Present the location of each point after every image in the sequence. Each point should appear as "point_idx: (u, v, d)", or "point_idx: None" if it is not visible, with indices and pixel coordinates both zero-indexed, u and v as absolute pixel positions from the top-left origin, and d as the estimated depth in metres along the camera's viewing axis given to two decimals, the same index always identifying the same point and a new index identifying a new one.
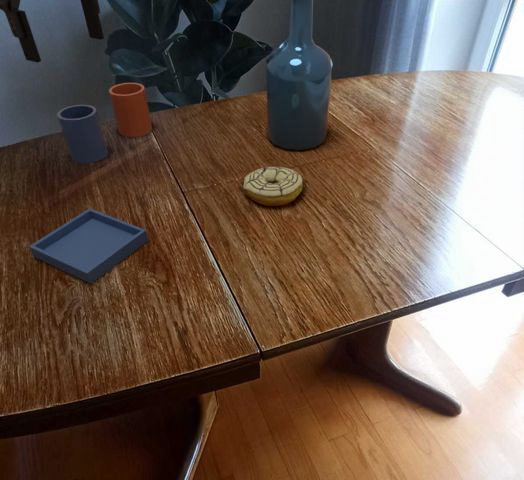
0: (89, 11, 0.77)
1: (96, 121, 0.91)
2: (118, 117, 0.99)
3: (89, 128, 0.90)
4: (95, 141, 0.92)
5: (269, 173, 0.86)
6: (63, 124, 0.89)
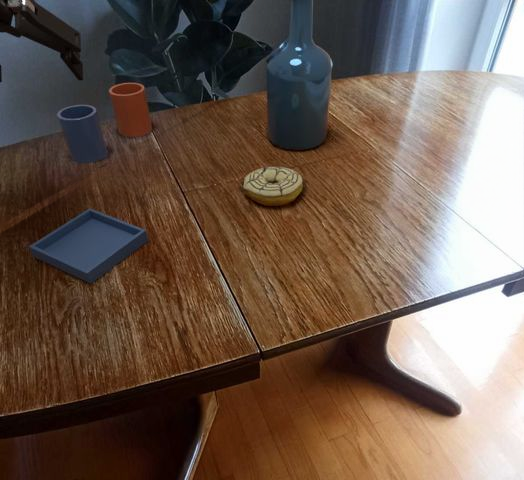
0: None
1: (96, 121, 0.91)
2: (118, 117, 0.99)
3: (89, 128, 0.90)
4: (95, 141, 0.92)
5: (269, 173, 0.86)
6: (63, 124, 0.89)
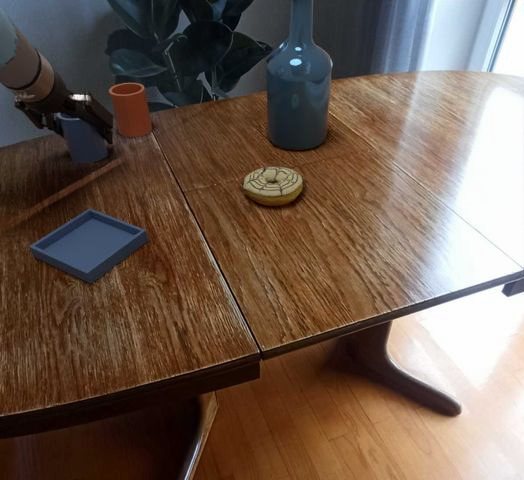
0: None
1: None
2: (118, 117, 0.99)
3: (89, 128, 0.90)
4: (95, 141, 0.92)
5: (269, 173, 0.86)
6: (63, 124, 0.89)
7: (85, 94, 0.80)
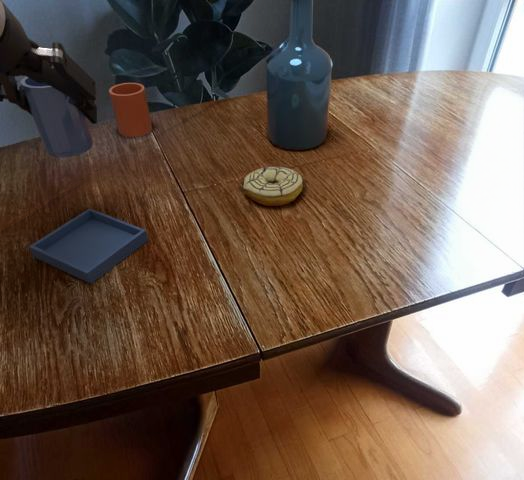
0: None
1: None
2: (118, 117, 0.99)
3: (64, 100, 0.67)
4: (73, 117, 0.69)
5: (269, 173, 0.86)
6: (29, 94, 0.66)
7: (54, 47, 0.57)
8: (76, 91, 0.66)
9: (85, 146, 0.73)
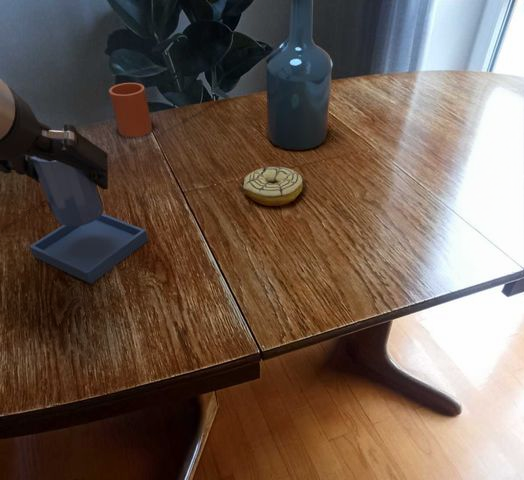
0: None
1: None
2: (118, 117, 0.99)
3: (74, 172, 0.64)
4: (83, 188, 0.66)
5: (269, 173, 0.86)
6: (37, 167, 0.63)
7: (66, 129, 0.54)
8: (87, 164, 0.63)
9: (95, 214, 0.70)
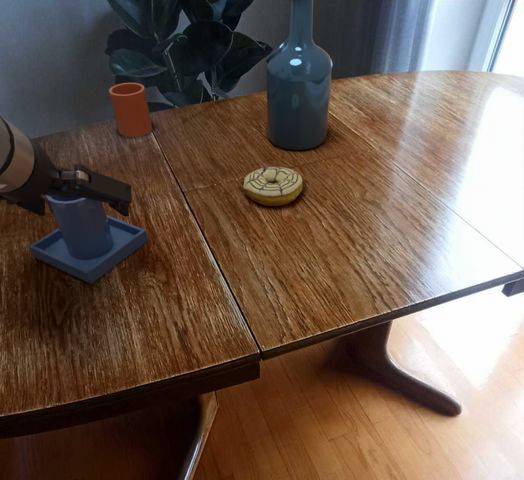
0: None
1: (97, 201, 0.69)
2: (118, 117, 0.99)
3: (88, 211, 0.69)
4: (96, 225, 0.71)
5: (269, 173, 0.86)
6: (53, 207, 0.68)
7: (75, 169, 0.57)
8: None
9: (106, 248, 0.74)
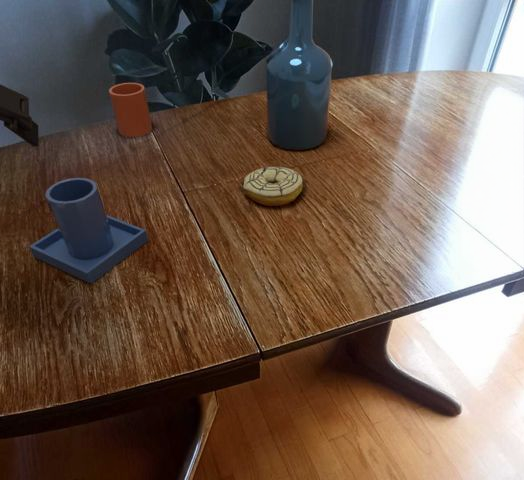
0: None
1: (97, 201, 0.69)
2: (118, 117, 0.99)
3: (88, 211, 0.69)
4: (96, 225, 0.71)
5: (269, 173, 0.86)
6: (53, 207, 0.68)
7: None
8: None
9: (106, 248, 0.74)
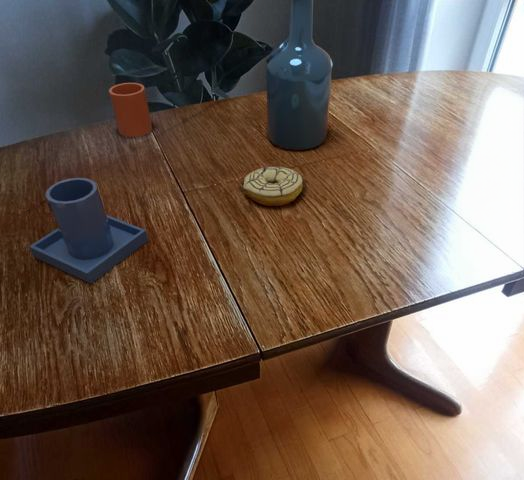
0: None
1: (97, 201, 0.69)
2: (118, 117, 0.99)
3: (88, 211, 0.69)
4: (96, 225, 0.71)
5: (269, 173, 0.86)
6: (53, 207, 0.68)
7: None
8: None
9: (106, 248, 0.74)
